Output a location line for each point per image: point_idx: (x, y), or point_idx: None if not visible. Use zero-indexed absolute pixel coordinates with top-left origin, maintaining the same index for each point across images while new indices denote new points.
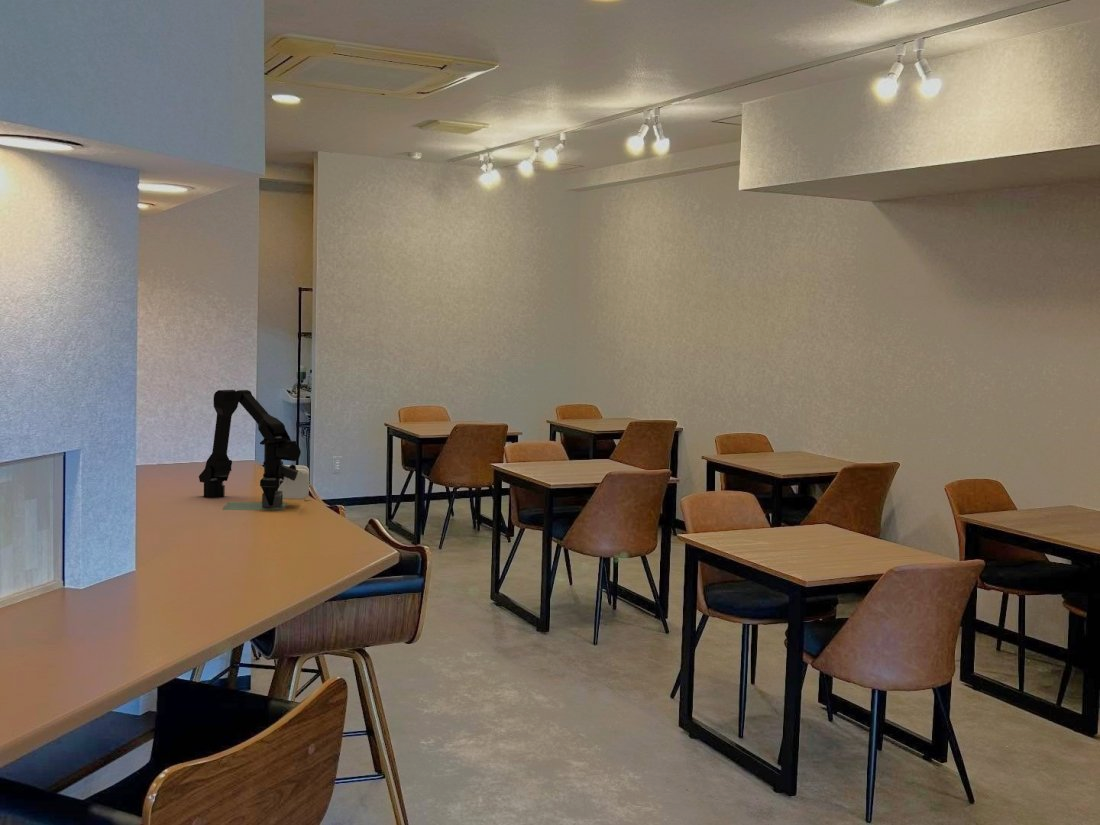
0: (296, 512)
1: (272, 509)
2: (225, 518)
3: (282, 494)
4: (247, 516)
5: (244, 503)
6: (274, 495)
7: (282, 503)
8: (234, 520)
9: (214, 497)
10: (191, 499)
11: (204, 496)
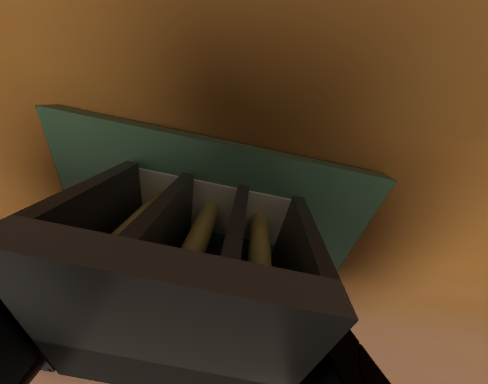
0: (445, 44)
1: (333, 243)
2: (401, 373)
3: (51, 208)
4: (403, 329)
5: None
6: (356, 355)
7: (125, 161)
8: (465, 365)
9: (35, 360)
10: (59, 375)
11: (36, 373)
